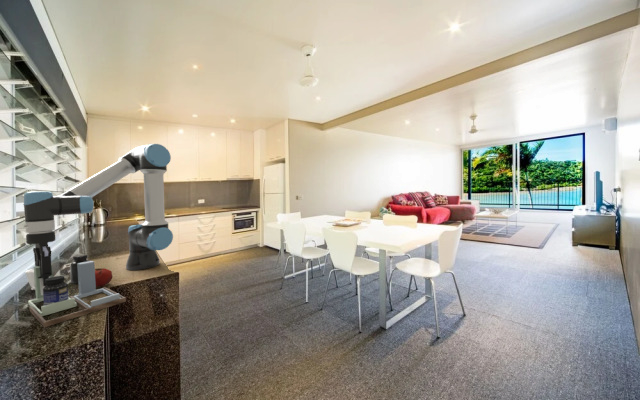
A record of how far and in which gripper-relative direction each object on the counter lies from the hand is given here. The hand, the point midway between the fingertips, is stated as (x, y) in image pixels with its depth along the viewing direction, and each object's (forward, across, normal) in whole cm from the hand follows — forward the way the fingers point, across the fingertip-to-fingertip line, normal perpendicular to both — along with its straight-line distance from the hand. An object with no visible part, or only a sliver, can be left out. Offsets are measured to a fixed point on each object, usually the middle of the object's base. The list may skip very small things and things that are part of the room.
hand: (44, 292), depth 99 cm
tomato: (+3, +2, +16) cm, 16 cm away
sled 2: (+2, +18, +10) cm, 21 cm away
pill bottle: (+3, +16, 0) cm, 16 cm away
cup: (+3, -22, +2) cm, 22 cm away
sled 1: (+2, +9, 0) cm, 9 cm away
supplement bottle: (+3, -15, +14) cm, 21 cm away
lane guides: (+3, +19, +5) cm, 20 cm away
